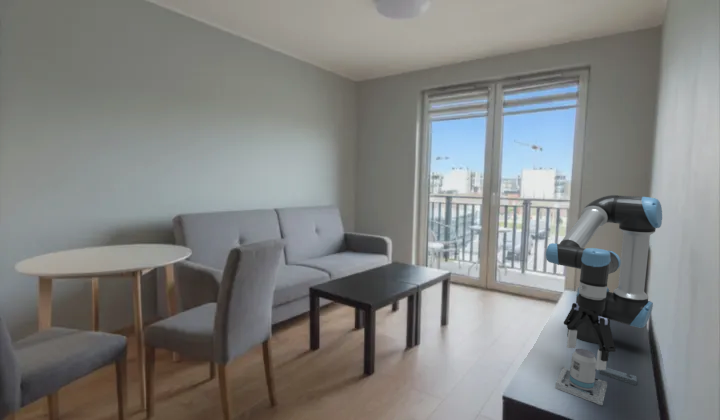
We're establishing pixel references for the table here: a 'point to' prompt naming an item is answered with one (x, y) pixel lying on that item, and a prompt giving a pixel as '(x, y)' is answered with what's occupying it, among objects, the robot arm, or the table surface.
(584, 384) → the beverage can
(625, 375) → the bracket
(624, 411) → the table surface
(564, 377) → the rail plate
